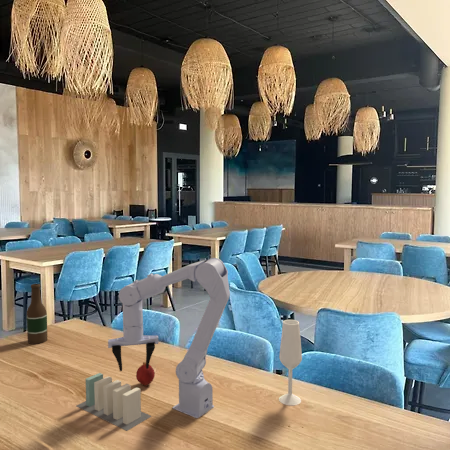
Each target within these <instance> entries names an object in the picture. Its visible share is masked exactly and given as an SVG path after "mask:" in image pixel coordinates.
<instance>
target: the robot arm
mask: <svg viewBox="0 0 450 450" xmlns="http://www.w3.org/2000/svg"><path fill="white" fill-rule="evenodd" d="M228 275H229V271H228V269H227V267H226V265H225V263H224V261H222V260H221V259H220V258H218V257H211V258H209V259H207V260H206V259H205V260H200V261H196V262H194V263H193V262H192V263H190V264H188V265H185V266H183V267H181V268H178V269H176V270H173V271H172V272H169V273H167V274H165V275H161V274H158V273H155V274H154V273H149V274H147V275H146V276H147V277H144V278H143V279H142V278H141V279H140V280H139V279H136V280H134V281H133V282H132V283H130V284H128V285H125V286H123V287H122V288H121V289H120V290H119V293H118V299H119V301H120V303H121V305H122V326H123V328H122V329H123V330H122V331H123V336H122V337H121V336H120V337H117V338H111V339H107V349H111V352H112V354H113V356H114V357H115V360H116V362H117V365H118V368H119V369H118V370H119V372H123V363H122V362H123V361H122V347H129V346H140V345H145V353H146V354H145V355H146V356H145V357H146V358H145V362H146V369H148V368H149V365H150V362H151V361H150V360H151V359H152V355H153V353H154V351H155V349H156V346H155V345H159V335H145V334H144V320H143V319H144V318H143V317H144V316H143V315H144V314H143V313H144V312H143V300H147V299H149V298H151V297H156V296H157V295H160V294H162V293H164V292H165V291H166V287H168V286H171V285H174V284H176V283H180V282H182V281H185V280H190V281H191V282H196V281H197V283H198V284H199V285H200V286H201V287H202V288H203V289H204V290H205V291H206V292H207V294H208V296H209V301H208V303H207V306H206V308H205V310H204V313H203V315H202V317H201V319H200V322H199V324H198V327H197V330H196V331H195V334H194V336H193V339H192V342H191V344H190V346H189V347H188V349H187V352H186V353H185V355H184V356H183V358H182V360H181V361H180V362H179V363H178V364H176V368H175V375H176V377H177V379H178V403H177V404H176V405H174V406H172V410H176V411H178V412H180V413H182V414H185V415H188V416H191V417H193V418H195V419H199V418H201V417H202V416H203V415H205V414H206V413H207V412H209V411H211V410H212V409H214V408H215V405H214V404H213V400H214V399H213V397H214V396H213V393H214V391H213V385H212V384H211V383H210V382H209V381H207V380H206V379H205V375H204V372H203V369H204V368H205V366H206V364H207V360H206V358H207V354H208V348H209V345H210V344H211V342H212V338H213V337H214V334H215V332H216V330H217V327H218V325H219V323H220V320H221V318H222V316H223V313H224V310H225V309H226V306H227V303H228V301H229V299H230V295H231V293H230V284H229V278H228Z"/></svg>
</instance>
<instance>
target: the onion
mask: <svg viewBox="0 0 450 450" xmlns="http://www.w3.org/2000/svg"><path fill="white" fill-rule="evenodd" d="M155 373H156V372H155V370H154V368H153V367H152V366H151V365H150V364H149V368H148V369H146V361H143V362H142V365H140V366H138V368H137V369H136V375H135V376H136V380H137V382H138V383H139V384H141V385H142V386H144V387H146V386H149V385H150V384H151V383H152V382H153V381H154V379H155V375H156V374H155Z"/></svg>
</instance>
